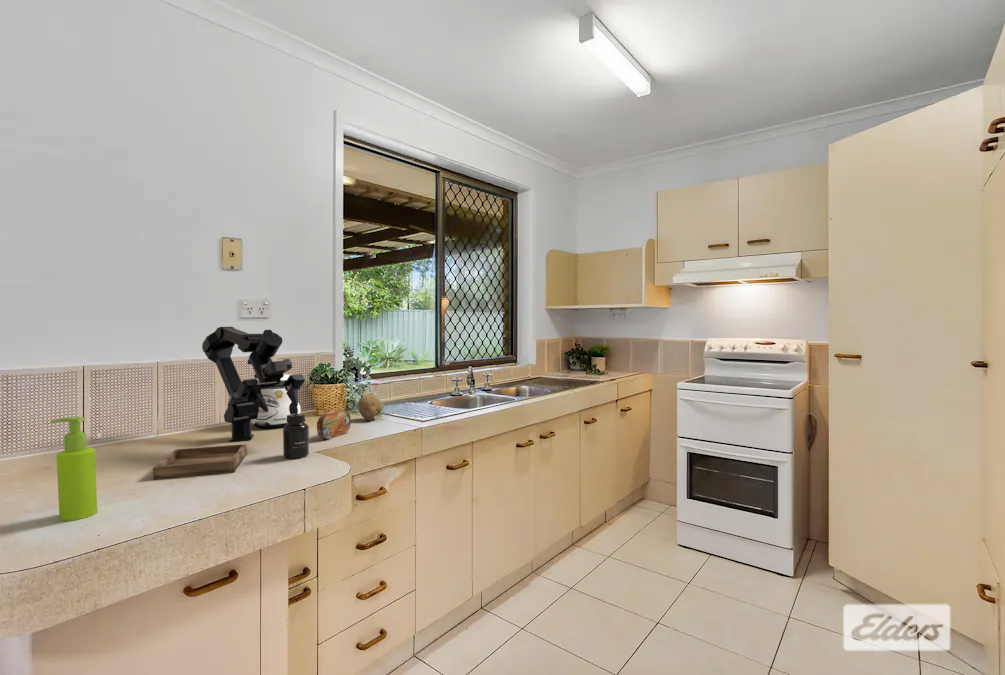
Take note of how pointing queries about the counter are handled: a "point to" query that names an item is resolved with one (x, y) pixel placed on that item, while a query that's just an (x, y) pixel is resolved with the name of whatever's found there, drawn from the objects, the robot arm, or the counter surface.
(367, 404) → the brown potato
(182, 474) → the walnut tray
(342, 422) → the tin
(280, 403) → the milk container
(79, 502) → the soap dispenser
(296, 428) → the supplement bottle
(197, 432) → the counter surface
